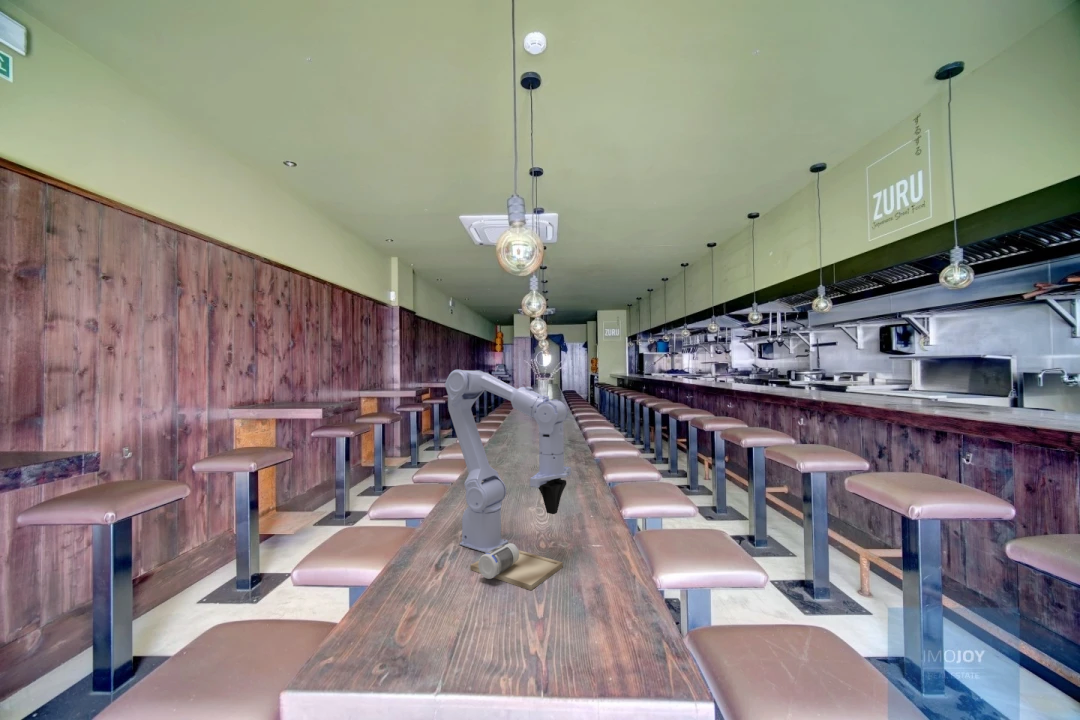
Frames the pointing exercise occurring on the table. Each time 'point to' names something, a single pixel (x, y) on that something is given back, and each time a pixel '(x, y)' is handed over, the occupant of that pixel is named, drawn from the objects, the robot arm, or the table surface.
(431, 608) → the table surface
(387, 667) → the table surface
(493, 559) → the pill bottle
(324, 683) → the table surface
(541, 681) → the table surface
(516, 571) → the beech board
